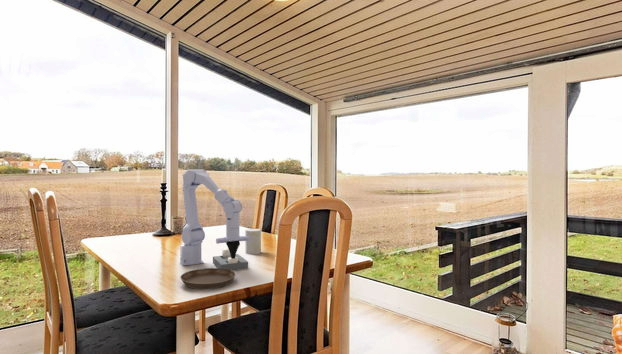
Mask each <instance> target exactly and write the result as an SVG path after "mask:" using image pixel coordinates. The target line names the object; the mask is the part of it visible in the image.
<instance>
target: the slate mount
mask: <svg viewBox="0 0 622 354" xmlns="http://www.w3.org/2000/svg"><path fill="white" fill-rule="evenodd" d="M235 257H238V263H231V264H228V258H225V259H223V258H222V255H217V256H212V264H213V265H214V266H215V268H222V269H228V270H231V271H238V270H239V271H240V270H244V269H245V270H247V269H249V261H248V260H247V259H245V258H244V257H243V256H241V255H240V254H239V253H236V256H235Z"/></svg>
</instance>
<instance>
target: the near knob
mask: <svg viewBox="0 0 622 354" xmlns="http://www.w3.org/2000/svg"><path fill="white" fill-rule="evenodd" d="M231 263H238V257H235V258H234V259H232V258H231V257H229V258H228V264H231Z"/></svg>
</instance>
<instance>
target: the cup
mask: <svg viewBox="0 0 622 354" xmlns="http://www.w3.org/2000/svg"><path fill="white" fill-rule="evenodd" d="M244 233H245V235H244V236H249V241H244V242H245V250H244V251H245V254H247V255H258V254H261V253H262V229H260V228H248V229H247V228H246V229H245V231H244Z"/></svg>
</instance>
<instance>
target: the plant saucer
mask: <svg viewBox="0 0 622 354" xmlns="http://www.w3.org/2000/svg"><path fill="white" fill-rule="evenodd" d="M235 277H236V272H235V271H234V270H228V269H222V268H217V267H206V268H205V267H204V268H198V269H193V270H189V271H186V272H184V273H182V274H181V276H180V280H181V281H182V282H183V284H184V285H185V286H187V287H189V288H190V289H195V290H212V289H213V290H214V289H218V288H222V287H225V286H227V285H229V284H230V283H231V282H232V281H233V280H234V279H235Z"/></svg>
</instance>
